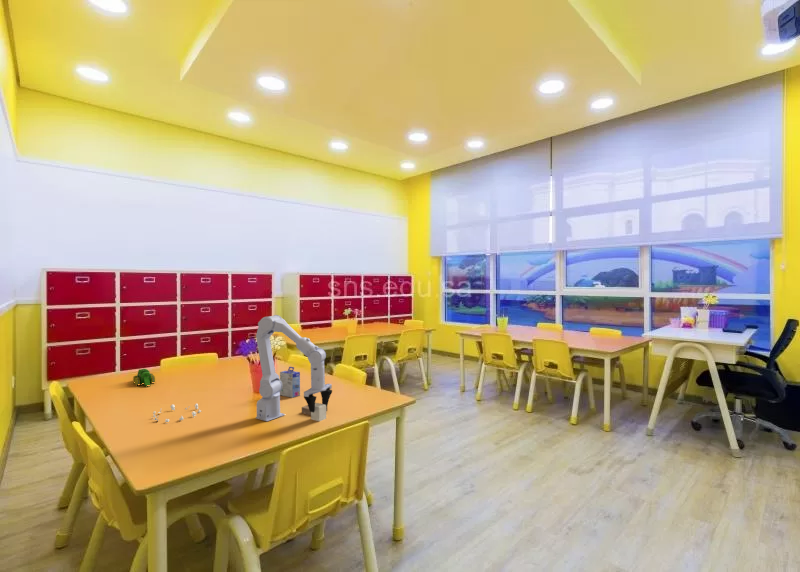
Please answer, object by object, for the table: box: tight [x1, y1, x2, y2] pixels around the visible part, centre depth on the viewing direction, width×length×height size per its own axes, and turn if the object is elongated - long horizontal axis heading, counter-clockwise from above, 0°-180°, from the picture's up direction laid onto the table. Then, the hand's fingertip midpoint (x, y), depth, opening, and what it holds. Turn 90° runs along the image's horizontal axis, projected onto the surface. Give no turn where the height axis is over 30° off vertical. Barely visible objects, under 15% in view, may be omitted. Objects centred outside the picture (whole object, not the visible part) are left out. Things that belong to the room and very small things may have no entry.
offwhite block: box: [310, 402, 327, 422], centre depth 168 cm, size 4×5×6 cm
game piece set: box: [152, 403, 202, 423], centre depth 176 cm, size 19×20×4 cm
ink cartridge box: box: [279, 366, 301, 398], centre depth 204 cm, size 10×6×14 cm, turn 58°
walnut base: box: [301, 402, 328, 416], centre depth 177 cm, size 8×8×3 cm
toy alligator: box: [132, 368, 156, 386], centre depth 236 cm, size 10×32×9 cm, turn 41°
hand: (318, 409), depth 168 cm, fingers open, 7 cm apart
